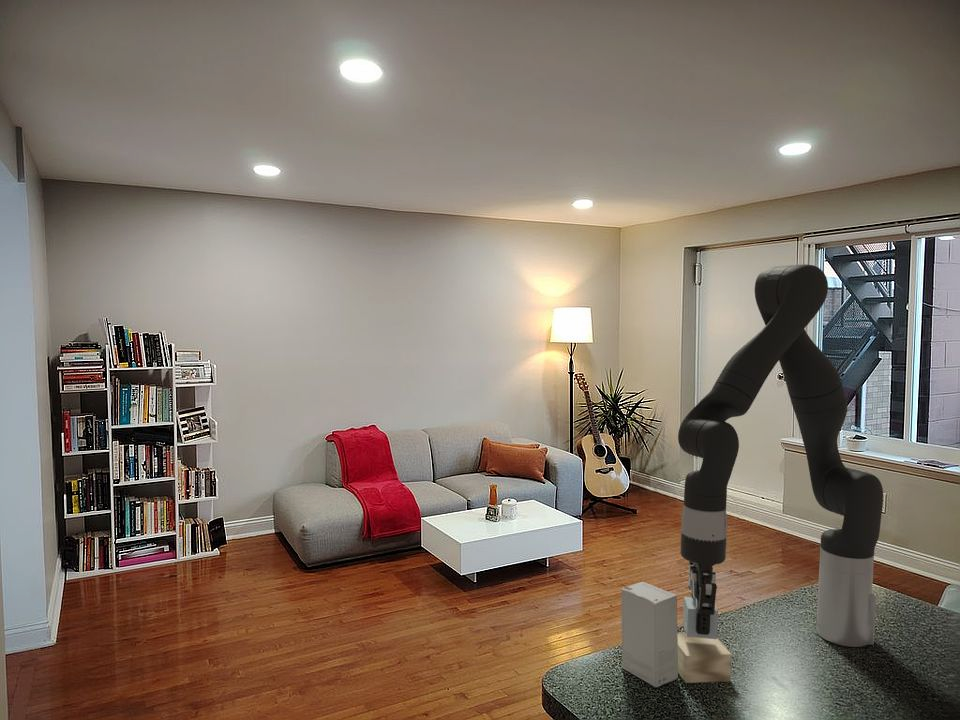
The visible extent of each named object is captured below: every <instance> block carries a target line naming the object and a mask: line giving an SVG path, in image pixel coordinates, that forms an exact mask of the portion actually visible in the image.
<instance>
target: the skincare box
mask: <svg viewBox="0 0 960 720" xmlns="http://www.w3.org/2000/svg"><path fill="white" fill-rule="evenodd" d="M620 593H621V594H620V597H621V599H620V601H621V602H620V603H621V604H620V605H621V606H620V607H621V659H622V660H621V663H622V665H621V668H622V669H623V670H625V671H626V672H627V673H628V672H629V673H630V674H632V675H633V676H635V677H637V678H638V679H640V680H642V681H644V682H646V683H647V684H648V685H651V686H652V687H654V688H658V687H660V686H663V685H666V684H668V683H670V682H673V681H675V680H677V679H678V677H679V673H678V635H677V633H678V595H677V594H675V593H673V592H670V591H667V590H664V589H662V588H660V587H657V586H655V585H652V584H650V583H648V582H646V581H640V582H637V583H634V584H632V585H629V586H625V587H622V588H621V589H620Z"/></svg>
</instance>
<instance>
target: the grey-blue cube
mask: <svg viewBox="0 0 960 720" xmlns="http://www.w3.org/2000/svg"><path fill="white" fill-rule="evenodd" d="M703 606H708V603H703ZM714 610H715V613H714V615H710V633H709V634H708V635H703V634H698V633H697V632H696V599H695V598H693V597H691V596H683V615H682V625H683V627H684V628H683V629H684V631H685V632H684V633H686V635H687V637H696V638H707V639H717V638H718V626H719V624H718V623H719V609H718V607H717V606H716V604H715V609H714Z"/></svg>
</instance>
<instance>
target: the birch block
mask: <svg viewBox="0 0 960 720" xmlns="http://www.w3.org/2000/svg"><path fill="white" fill-rule="evenodd" d="M677 635H678V675H679V676H680V677H681V679H682V680H683V681H684V683H685V684H687V683H693V684H694V683H714V682H716V683H718V682H722V683H723V682H731V680H732V660H733V659H732V656H733V655H732V653H731V652H730V651H729V650H728V648H727V647H726V646H725V645H724V644H723V643H722V641H721V640H719V639H718V637H717V639H707V638H696V637H687V635H686V632H677Z"/></svg>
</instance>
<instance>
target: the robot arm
mask: <svg viewBox="0 0 960 720" xmlns="http://www.w3.org/2000/svg"><path fill="white" fill-rule="evenodd" d="M827 278H828V277H827V276H826V274H825V272H824V271H823V270H822V269H821V268H820V267H818V266H816V265H813V264H806V263H805V264H804V263H803V264H789V265H780V266H770V267H766V268H764V269H763V270H761V271H760V273H759V274H758V275H757V277H756V279H755V283H754V297H755V298H754V299H755V302H756V306H757V308H758V310H759V313H760V317H761V318H762V320H763V323H764V325H765V326H764V327H763V328H762V329H761V330H760V331H759V332H758V333H757V334H756V335H755V336H754V337H752V338H751V339H750V340H749V341H747V342H746V344H744V345H743V346H742V347H740V349H738V350H737V352H735V353H734V354H733V355H732V356H731V358H730V359H729V360H728V361H727V362H726V364H725V366H724V367H723V369H722V370H721V372H720V374H719V376H718V377H717V379H716V381H715V383H714V384H713V386H712V388H711V389H710V391H709V392H708V393H707V394H706V395H705V396H703V398H702V399H700V401H699V402H697V404H696V405H694V407H693V408H692V409H691V410H690V411H689V412H688V414H686V416H685V417H684V419H683V420H682V422H681V424H680V426H679V428H678V429H679V430H678V433H677V440H678V445H679V447H680V448H681V449H682V451H684V452H685V453H686V454H688V455H691V456H694V457H697V458H700V459H702V463H701V466H700V469H698V470H692V471H689V472H688V473H687V475H685V479H684V490H683V491H684V492H683V494H684V495H683V508H682V509H683V510H682V516H681V530H680V531H681V532H680V555H681V558H683V559H684V560H686V561H688V563H689V566H688V575H689V576H688V589H689V591H690V592H689V595H690V597H693V598H695V599H696V632H697V633H698V634H703V635H708V634H709V633H710V615H714V613H715V610H714V609H715V605H716V599H717V598H716V597H717V589H718V585H717V583H716V581H717V577H716V576H717V575H716V572H715V571H714V566H715V565H721V564H723V563H724V562H725V560H726V558H727V557H726V554H727V535H728V533H727V532H728V515H727V495H728V484H729V481H730V479H731V476H732V473H733V470H734V467H735V464H736V460H737V457H738V454H739V449H740V442H739V441H740V440H739V436H738V433H737V430H736V429H735V427H734V426H733V425H732V424H730V423H729V422H727V420H728V419H731V418H737V417H742V416H745V414H747V413H748V411H749V410H750V408H751V407H752V405H753V403H754V401H755V400H756V398H757V397H758V394H759V392H760V391H761V389H762V387H763V385H764V384H765V382H766V381H767V378H768V377H769V376H770V374H771V372H772V370H773V369H775V366H776V365H777V364H778V363H779V365H780V368H781V370H782V371H781V372H782V373H783V377H784V380H785V384H786V388H787V392H788V395H789V399H790V402H791V405H792V409H793V411H794V415H795V418H796V420H797V425H798V427H799V431H800V434H801V439H802V442H803V445H804V446H803V447H804V450H805V455H806V459H807V460H806V461H807V465H808V466H807V467H808V472H809V478H810V483H811V488H812V492H813V496H814V497H815V500H816V501H817V503H818V505H819V506H820V507H821V508H823V509H824V510H827V511H828V512H831V513H834V514H838V515H840V516H843V521H842V526H841V528H834V529H828V530H825V531H823V532H822V533H821V536H820V549H819V550H820V551H819V565H818V566H819V569H818V585H817V587H818V590H817V607H816V609H817V610H816V633H817V634H818V635H819V637H821V638H822V639H824V640H826V641H828V642H829V643H833V644H835V645H840V646H844V647H851V648H860V647H865V646H870V645H871V646H874V644H875V630H876V629H875V627H876V626H875V625H876V610H877V609H876V607H877V597H876V595H875V594H874V593H873V583H874V581H873V580H874V565H875V564H874V561H875V549H876V546H877V545H878V544H877V543H878V541H879V538H880V531H881V523H882V515H883V507H884V489H883V485H882V483H881V480H880V479H879V478H878V477H877V476H876V475H874V474H872V473H870V472H866V471H863V470H859V469H854V468H851V467H846V466H845V465H844V463H843V461H842V458H841V454H840V451H839V447H838V437H839V434H840V432H841V429H842V427H843V425H844V422H845V420H846V417H847V414H848V400H847V397H846V393H845V389H844V385H843V382H842V378H841V375H840V374H839V372H838V370H837V368H836V367H835V366H834V364H833V363H832V362H831V360H830V359H829V358H828V357H827V356H826V354H824V352H823V351H822V350H821V349H820V348H819V347H818V346H817V344H815V342H814V341H813V340H812V338H811V337H810V336H809V334H808V333H807V331H806V328H807V326H808V325H809V324H810V323H811V321H812V320H813V319H814V318H815V317H816V316H817V315H818V313H819V311H820V310H821V308H822V307H823V305H824V303H825V302H826V299H827V296H828V291H829V281H828V279H827ZM703 603H708V606H703Z"/></svg>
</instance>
